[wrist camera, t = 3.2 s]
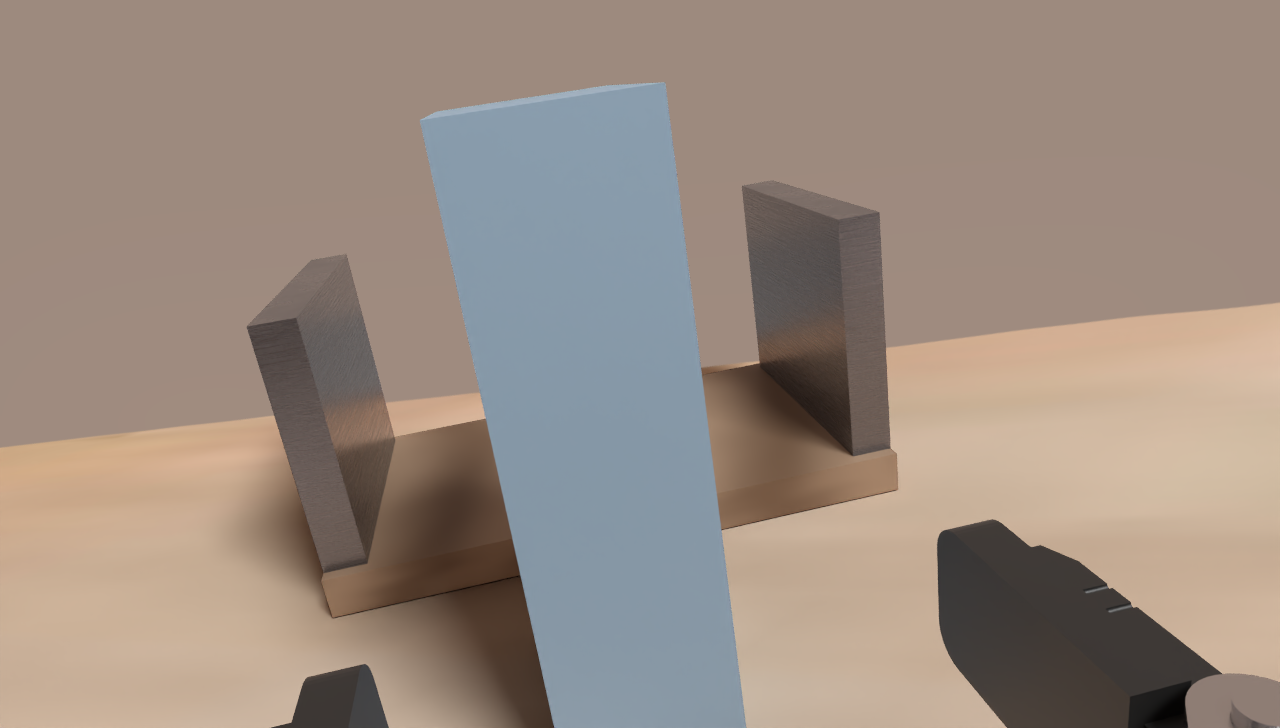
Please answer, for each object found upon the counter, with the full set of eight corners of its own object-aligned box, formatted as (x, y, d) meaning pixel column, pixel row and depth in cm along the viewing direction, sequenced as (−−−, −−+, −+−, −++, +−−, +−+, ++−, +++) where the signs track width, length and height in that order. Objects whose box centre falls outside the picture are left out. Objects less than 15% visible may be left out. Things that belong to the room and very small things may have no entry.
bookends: (323, 573, 29) (246, 326, 26) (362, 447, 39) (311, 260, 36) (890, 448, 32) (879, 212, 29) (788, 361, 42) (772, 180, 39)
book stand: (332, 617, 29) (321, 581, 29) (372, 471, 40) (364, 443, 40) (898, 489, 32) (896, 453, 31) (787, 385, 43) (785, 358, 43)
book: (571, 804, 20) (420, 119, 15) (547, 630, 27) (436, 111, 21) (749, 757, 21) (665, 82, 16) (683, 597, 27) (608, 85, 22)
